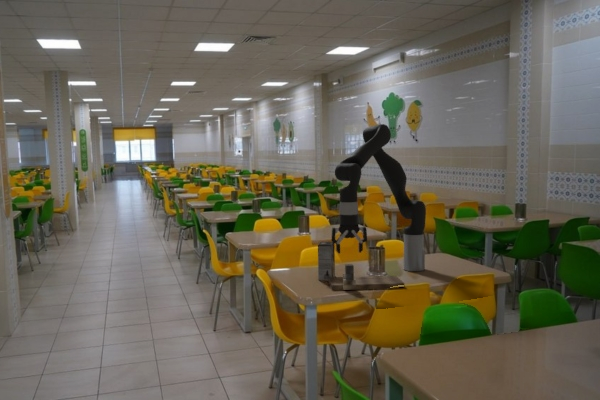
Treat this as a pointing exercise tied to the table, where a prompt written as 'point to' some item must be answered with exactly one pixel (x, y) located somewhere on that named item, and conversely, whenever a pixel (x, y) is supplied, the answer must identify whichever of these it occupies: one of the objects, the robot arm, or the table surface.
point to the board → (367, 282)
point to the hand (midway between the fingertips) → (349, 252)
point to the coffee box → (326, 260)
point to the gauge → (349, 278)
